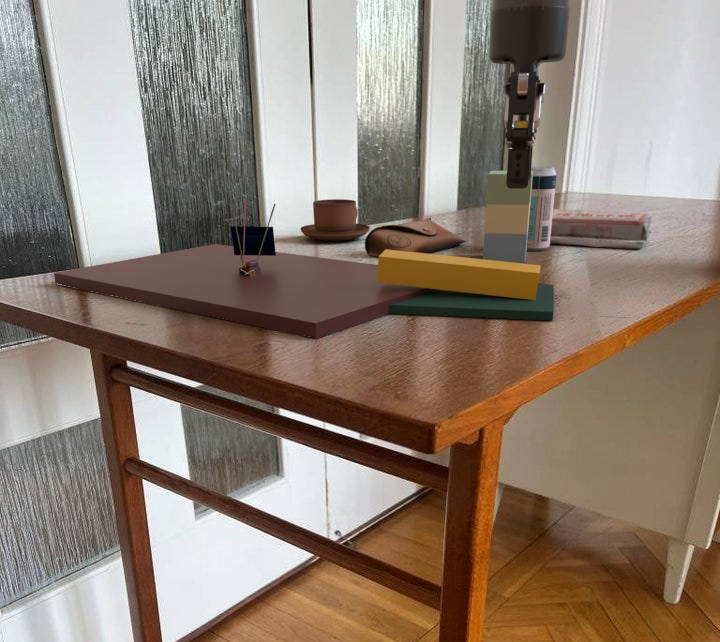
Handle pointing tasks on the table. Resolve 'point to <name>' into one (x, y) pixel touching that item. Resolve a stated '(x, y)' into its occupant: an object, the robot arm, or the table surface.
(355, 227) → the cup and saucer
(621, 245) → the packaged product
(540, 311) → the mat
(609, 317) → the table surface
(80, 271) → the board
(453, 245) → the sunglasses case
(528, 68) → the robot arm
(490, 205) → the tower
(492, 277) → the bar
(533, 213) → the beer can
